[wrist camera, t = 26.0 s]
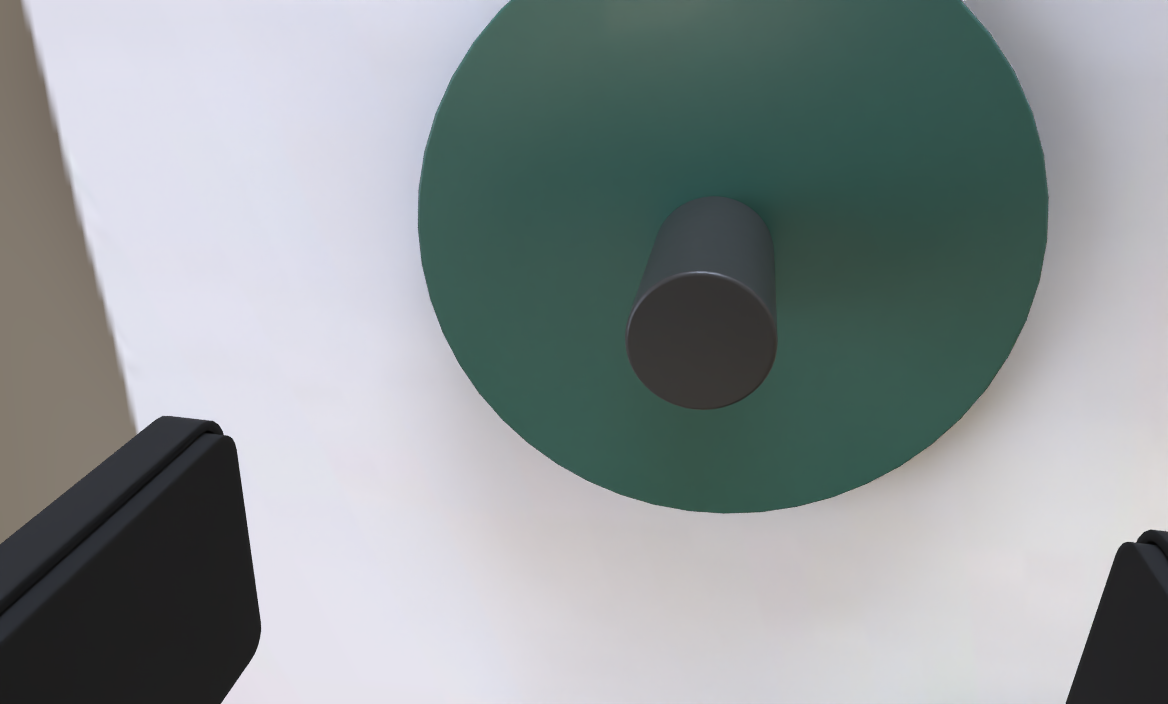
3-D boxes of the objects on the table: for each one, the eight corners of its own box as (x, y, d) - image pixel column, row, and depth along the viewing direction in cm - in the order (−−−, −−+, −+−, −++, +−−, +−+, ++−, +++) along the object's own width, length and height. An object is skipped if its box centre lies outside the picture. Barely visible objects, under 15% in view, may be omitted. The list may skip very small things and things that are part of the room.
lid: (1110, -77, 17) (1275, -86, 12) (962, 519, 23) (1026, 704, 17) (422, -99, 19) (284, -115, 14) (442, 455, 25) (351, 603, 19)
